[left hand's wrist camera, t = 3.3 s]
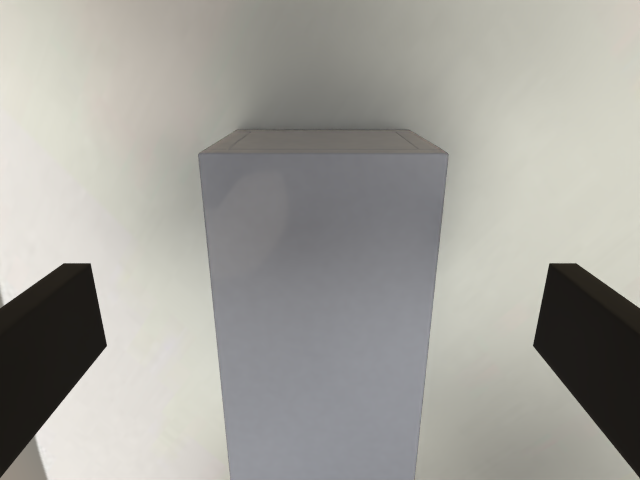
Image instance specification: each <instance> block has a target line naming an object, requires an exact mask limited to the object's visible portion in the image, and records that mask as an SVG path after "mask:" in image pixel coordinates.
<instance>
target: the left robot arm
mask: <svg viewBox="0 0 640 480" xmlns="http://www.w3.org/2000/svg"><path fill="white" fill-rule="evenodd" d="M106 346H107V344H106V339H105V334H104V329H103V324H102V319H101V314H100V309H99V304H98V299H97V293H96V288H95V283H94V278H93V273H92V268H91V263H64V264H62V265H61V266H59V267H58V268H57V269H55V270H54V271H52V272H51V273H50V274H48V275H47V276H45V277H44V278H43V279H41V280H40V281H38V282H37V283H35V284H34V285H33V286H31V287H30V288H28V289H27V290H26V291H24V292H23V293H21V294H20V295H18V296H17V297H16V298H14V299H13V300H11V301H10V302H9V303H7V304H6V305H4V306H3V307H2V308H0V478H1V476H2V475H3V474H4V473H5V471H6V470H7V469H8V468H9V466H10V465H11V464H12V463H13V461H14V460H15V459H16V458H17V457H18V455H19V454H20V453H21V452H22V450H23V449H24V448H25V447H26V445H27V444H28V443H29V442H30V440H31V439H32V438H33V437H34V435H35V434H36V433H37V432H38V431H39V429H40V428H41V427H42V426H43V424H44V423H45V422H46V421H47V419H48V418H49V417H50V416H51V414H52V413H53V412H54V411H55V409H56V408H57V407H58V406H59V405H60V403H61V402H62V401H63V400H64V398H65V397H66V396H67V395H68V393H69V392H70V391H71V390H72V388H73V387H74V386H75V385H76V384H77V382H78V381H79V380H80V379H81V377H82V376H83V375H84V374H85V372H86V371H87V370H88V369H89V367H90V366H91V365H92V364H93V362H94V361H95V360H96V359H97V358H98V356H99V355H100V354H101V353H102V351H103V350H104V349H105V348H106ZM533 346H534V348H535V349H536V350H537V351H538V353H539V354H540V355H541V356H542V358H543V359H544V360H545V361H546V362H547V364H548V365H549V366H550V367H551V369H552V370H553V371H554V372H555V374H556V375H557V376H558V377H559V379H560V380H561V381H562V382H563V384H564V385H565V386H566V387H567V388H568V390H569V391H570V392H571V393H572V395H573V396H574V397H575V398H576V400H577V401H578V402H579V403H580V405H581V406H582V407H583V408H584V410H585V411H586V412H587V413H588V414H589V416H590V417H591V418H592V419H593V421H594V422H595V423H596V424H597V426H598V427H599V428H600V429H601V431H602V432H603V433H604V434H605V435H606V437H607V438H608V439H609V440H610V442H611V443H612V444H613V445H614V447H615V448H616V449H617V450H618V452H619V453H620V454H621V455H622V457H623V458H624V459H625V460H626V461H627V463H628V464H629V465H630V466H631V468H632V469H633V470H634V471H635V473H636V474H637V475H638V476H639V478H640V308H638V307H637V306H636V305H634V304H633V303H631V302H630V301H629V300H627V299H626V298H624V297H623V296H622V295H620V294H619V293H617V292H616V291H614V290H613V289H612V288H610V287H609V286H607V285H606V284H605V283H603V282H602V281H600V280H599V279H597V278H596V277H595V276H593V275H592V274H590V273H589V272H588V271H586V270H585V269H583V268H582V267H581V266H579V265H578V264H576V263H549V268H548V273H547V278H546V283H545V288H544V293H543V299H542V304H541V309H540V314H539V319H538V324H537V329H536V334H535V339H534V344H533Z"/></svg>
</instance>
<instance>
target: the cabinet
mask: <svg viewBox="0 0 640 480" xmlns="http://www.w3.org/2000/svg"><path fill="white" fill-rule="evenodd" d="M198 157H199V167H200V177H201V187H202V197H203V207H204V217H205V228H206V238H207V248H208V258H209V268H210V278H211V288H212V298H213V308H214V318H215V328H216V338H217V348H218V358H219V368H220V378H221V388H222V399H223V409H224V419H225V429H226V439H227V449H228V459H229V469H230V479H231V480H414V479H415V470H416V460H417V451H418V441H419V432H420V422H421V413H422V403H423V394H424V384H425V374H426V365H427V355H428V346H429V336H430V327H431V317H432V308H433V298H434V289H435V279H436V270H437V260H438V251H439V241H440V232H441V222H442V213H443V203H444V193H445V184H446V174H447V165H448V153H446V152H445V151H443V150H442V149H441V148H439V147H437V146H436V145H434V144H432V143H431V142H429V141H427V140H426V139H424V138H422V137H421V136H419V135H417V134H416V133H414V132H412V131H410V130H236V131H234V132H232V133H231V134H229V135H228V136H226V137H224V138H223V139H221V140H219V141H218V142H216V143H215V144H213V145H211V146H210V147H208V148H207V149H205V150H203V151H202V152H200V153H199V154H198Z"/></svg>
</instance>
